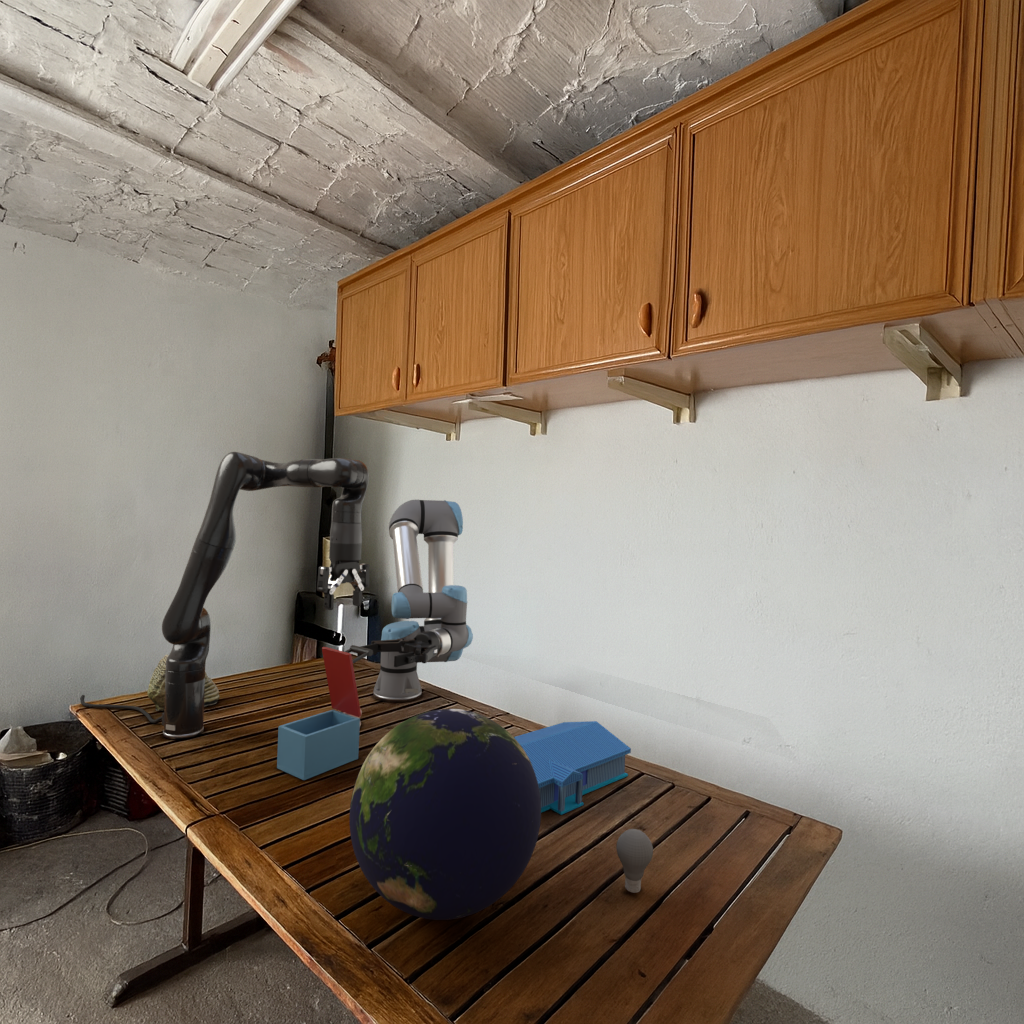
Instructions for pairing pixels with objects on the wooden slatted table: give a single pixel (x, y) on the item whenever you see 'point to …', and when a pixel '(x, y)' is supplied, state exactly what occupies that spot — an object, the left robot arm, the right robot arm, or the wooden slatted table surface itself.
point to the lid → (343, 678)
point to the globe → (445, 814)
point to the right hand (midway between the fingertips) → (376, 656)
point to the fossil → (158, 687)
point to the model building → (573, 762)
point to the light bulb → (634, 857)
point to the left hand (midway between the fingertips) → (343, 607)
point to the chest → (317, 743)
